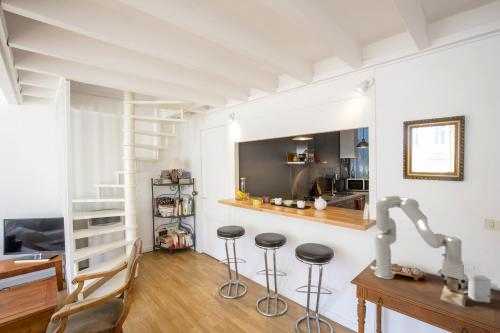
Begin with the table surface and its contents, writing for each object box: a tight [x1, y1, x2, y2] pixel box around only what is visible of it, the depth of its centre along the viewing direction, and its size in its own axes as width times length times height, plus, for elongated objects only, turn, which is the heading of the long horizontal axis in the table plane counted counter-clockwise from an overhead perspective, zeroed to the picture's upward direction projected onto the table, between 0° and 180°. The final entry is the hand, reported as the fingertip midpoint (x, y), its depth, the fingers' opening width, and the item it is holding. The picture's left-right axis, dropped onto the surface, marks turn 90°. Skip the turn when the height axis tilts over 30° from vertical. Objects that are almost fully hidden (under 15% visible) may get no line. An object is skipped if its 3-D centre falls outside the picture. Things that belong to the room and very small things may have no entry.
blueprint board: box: [439, 294, 467, 308], centre depth 142 cm, size 20×14×1 cm
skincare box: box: [467, 273, 492, 303], centre depth 142 cm, size 8×6×15 cm
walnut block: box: [447, 277, 459, 292], centre depth 142 cm, size 5×5×7 cm
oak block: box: [441, 285, 465, 306], centre depth 142 cm, size 9×9×5 cm
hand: (452, 287), depth 142 cm, fingers closed on walnut block, 4 cm apart
